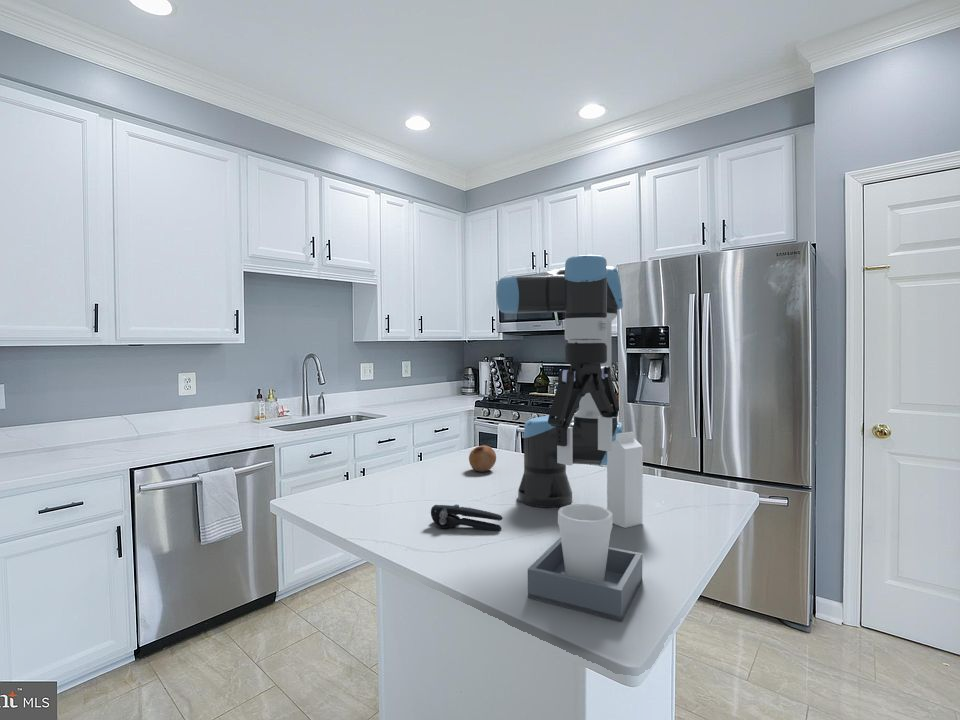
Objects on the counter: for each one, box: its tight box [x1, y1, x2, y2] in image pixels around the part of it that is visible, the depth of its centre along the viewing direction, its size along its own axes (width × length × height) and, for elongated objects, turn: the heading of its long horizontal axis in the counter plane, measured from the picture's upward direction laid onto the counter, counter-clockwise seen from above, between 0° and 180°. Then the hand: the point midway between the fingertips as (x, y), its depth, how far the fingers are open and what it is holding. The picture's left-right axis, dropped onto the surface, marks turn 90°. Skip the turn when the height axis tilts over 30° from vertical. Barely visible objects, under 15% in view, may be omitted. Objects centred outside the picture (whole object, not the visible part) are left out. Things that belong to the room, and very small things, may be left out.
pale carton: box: [606, 431, 644, 529], centre depth 123 cm, size 6×6×22 cm
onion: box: [468, 444, 497, 473], centre depth 175 cm, size 10×9×10 cm
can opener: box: [430, 504, 504, 532], centre depth 121 cm, size 18×7×6 cm, turn 76°
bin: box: [527, 537, 643, 623], centre depth 90 cm, size 16×16×5 cm
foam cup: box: [557, 503, 614, 583], centre depth 90 cm, size 10×9×13 cm
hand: (585, 457), depth 94 cm, fingers open, 13 cm apart
